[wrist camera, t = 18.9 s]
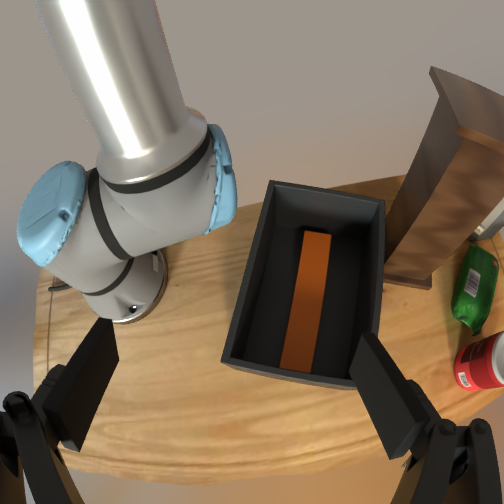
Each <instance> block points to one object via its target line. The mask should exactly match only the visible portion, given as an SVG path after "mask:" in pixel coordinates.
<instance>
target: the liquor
mask: <svg viewBox="0 0 504 504" xmlns="http://www.w3.org/2000/svg"><path fill="white" fill-rule="evenodd" d="M503 226H504V197H503V199H502V200H501V201H500V202H499V203H498V205H497V206H496V207H495V208H494V209H493V210H492V212H491V213H490V214H489V215H488V216H487V217H486V218H485V220H484V221H483V222H482V223H481V224H480V225H479V226H478V227H477V228H476V229H475V231H474V232H473V233H472V234H471V235H470V236H469V237H468V239H470V240H471V241H478V240H484V239H489V238H492V237H493V236H494V235H495V234H496V233H497V232H498V231H499V230H500V229H501V228H502V227H503Z"/></svg>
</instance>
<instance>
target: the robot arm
mask: <svg viewBox="0 0 504 504" xmlns="http://www.w3.org/2000/svg"><path fill="white" fill-rule="evenodd" d="M34 2H35V5H36V7H37V10H38V13H39V15H40V18H41V21H42V23H43V25H44V28H45V30H46V33H47V35H48V38H49V40H50V42H51V45H52V47H53V49H54V52H55V54H56V56H57V58H58V61H59V63H60V65H61V67H62V69H63V71H64V74H65V76H66V78H67V80H68V82H69V84H70V86H71V88H72V90H73V92H74V94H75V96H76V98H77V100H78V102H79V104H80V106H81V108H82V110H83V112H84V114H85V116H86V118H87V120H88V122H89V124H90V126H91V128H92V129H93V131H94V133H95V135H96V137H97V139H98V140H99V142H100V144H101V147H100V150H99V152H98V155H97V160H96V168H93V169H91V170H89V171H85V169H84V167H82V165H80V164H78V163H76V162H71V161H64V162H61V163H59V164H57V165H56V166H54V167H52V168H51V169H50V170H48V171H47V172H46V173H45V174H44V175H43V176H42V177H41V178H40V179H39V180H38V181H37V182H36V184H35V185H34V186H33V188H32V189H31V191H30V193H29V194H28V196H27V197H26V199H25V201H24V203H23V206H22V208H21V211H20V214H19V218H18V223H17V238H18V242H19V245H20V247H21V248H22V250H23V251H24V252H25V253H26V254H27V255H28V256H29V257H31V258H32V259H33V260H34V262H35V263H36V264H37V265H38V266H40V267H42V268H44V269H45V270H47V271H48V272H50V273H51V274H53V275H54V276H56V277H57V278H59V279H60V280H62V281H64V282H65V283H67V284H66V285H62V286H57V287H49V288H48V290H49V292H50V291H59V290H64V289H68V288H71V287H73V288H75V289H77V290H78V291H80V292H81V294H82V295H83V297H84V298H85V300H86V301H87V303H88V305H89V306H90V308H91V309H92V310H93V312H94V313H95V314H97V315H98V316H99V318H98V320H97V321H96V322H95V324H94V325H93V327H92V328H91V330H90V331H89V332H88V334H87V335H86V337H85V338H84V340H83V341H82V343H81V344H80V346H79V347H78V348H77V350H76V351H75V353H74V354H73V356H72V357H71V359H70V361H69V362H68V364H67V365H66V366H64V365H61V364H58V365H56V366H55V367H54V368H52V369H51V370H50V371H49V373H48V374H47V376H46V378H45V379H44V380H43V382H42V385H40V386H39V388H38V389H37V391H36V392H35V394H34V395H33V397H32V399H31V400H30V399H29V397H28V395H27V394H25V393H24V392H20V391H16V392H12V393H9V394H8V395H7V396H6V397H5V399H4V401H3V408H4V409H5V411H6V412H1V411H0V504H26V496H25V488H24V477H23V469H24V473H25V476H26V479H27V482H28V484H29V487H30V490H31V492H32V495H33V498H34V501H35V503H36V504H85V503H84V502H83V500H82V498H81V496H80V494H79V492H78V490H77V488H76V486H75V484H74V482H73V480H72V478H71V476H70V474H69V471H68V469H67V467H66V465H65V462H64V460H63V458H62V455H61V453H60V450H59V448H58V447H57V446H58V443H59V441H61V443H62V444H63V446H64V447H65V448H68V449H71V450H74V451H77V452H80V450H81V448H82V445H83V443H84V440H85V437H86V435H87V432H88V430H89V428H90V425H91V423H92V420H93V418H94V416H95V413H96V411H97V408H98V406H99V404H100V402H101V399H102V397H103V395H104V392H105V390H106V388H107V386H108V384H109V381H110V379H111V377H112V375H113V373H114V370H115V368H116V366H117V364H118V362H119V356H118V351H117V345H116V340H115V334H114V328H113V323H114V324H130V323H134V322H136V321H139V320H141V319H142V318H144V317H146V316H147V315H148V314H149V313H150V312H151V311H153V309H154V308H155V307H156V306H157V305H158V303H159V302H160V300H161V298H162V296H163V294H164V292H165V289H166V285H167V280H168V268H167V263H166V260H165V258H164V256H163V254H162V252H161V251H160V250H159V249H160V248H163V247H166V246H169V245H172V244H175V243H179V242H182V241H185V240H188V239H191V238H194V237H197V236H200V235H206V234H208V233H209V232H210V231H212V230H214V229H217V228H219V227H222V226H224V225H227V224H228V223H230V222H231V221H232V219H233V218H234V216H235V214H236V210H237V189H236V180H235V174H234V171H233V169H232V160H231V154H230V151H229V147H228V143H227V141H226V138H225V135H224V133H223V131H222V130H221V128H220V127H219V126H218V125H216V124H207V122H206V119H205V117H204V116H203V115H202V114H201V113H200V112H199V111H197V110H195V109H193V108H190V107H187V106H185V104H184V101H183V98H182V94H181V91H180V87H179V84H178V81H177V77H176V74H175V70H174V67H173V63H172V60H171V56H170V53H169V50H168V46H167V43H166V39H165V35H164V32H163V28H162V25H161V21H160V17H159V13H158V10H157V6H156V2H155V0H34ZM349 373H350V375H351V377H352V379H353V381H354V383H355V385H356V388H357V390H358V392H359V394H360V396H361V398H362V400H363V402H364V405H365V407H366V409H367V411H368V413H369V415H370V417H371V420H372V422H373V424H374V426H375V428H376V430H377V433H378V435H379V437H380V439H381V442H382V444H383V446H384V448H385V450H386V453H387V455H388V457H389V460H391V459H395V458H399V457H402V456H404V455H405V454H406V452H407V451H408V450H409V449H410V451H411V453H412V454H411V456H410V457H409V458H408V459H407V460H406V462H405V463H404V464H403V466H402V467H404V466H405V465H406V464H407V465H406V468H405V470H404V473H403V476H402V478H401V480H400V483H399V485H398V488H397V490H396V492H395V495H394V497H393V499H392V501H391V503H390V504H502V492H501V483H500V474H499V467H498V461H497V455H496V450H495V445H494V439H493V435H492V430H491V427H490V425H489V424H488V422H487V421H485V420H484V419H480V418H477V419H474V420H472V422H471V423H470V425H469V426H456V424H455V423H454V422H452V421H450V420H448V419H442V418H441V417H440V415H439V414H438V412H437V411H436V409H435V408H434V406H433V405H432V403H431V402H430V400H429V399H428V397H427V396H426V394H424V392H423V390H422V389H421V387H420V386H419V385H418V384H417V383H416V382H414V381H413V380H412V379H411V380H406V379H405V377H404V376H403V374H402V373H401V371H400V370H399V368H398V367H397V365H396V364H395V362H394V361H393V360H392V358H391V357H390V355H389V354H388V352H387V351H386V349H385V348H384V346H383V345H382V344H381V342H380V341H379V339H378V338H377V336H376V335H375V334H374V333H362V334H361V337H360V340H359V343H358V346H357V349H356V352H355V355H354V358H353V361H352V364H351V367H350V369H349Z"/></svg>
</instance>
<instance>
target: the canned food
mask: <svg viewBox="0 0 504 504" xmlns="http://www.w3.org/2000/svg"><path fill="white" fill-rule="evenodd" d="M454 375H455V379H456V381H457V383H458V384H459V385H460V386H461V387H462V388H464V389H466V390H469V391H474V390H483V389H490V388H497V387H504V331H501V332H499V333H496V334H494V335H492V336H489V337H487V338H484V339H482V340H479V341H477V342H474V343H471V344H469V345H467V346H465V347H464V348H463V349H462V350H461V351H460V352H459V353H458V355H457V357H456V359H455V363H454Z"/></svg>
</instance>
